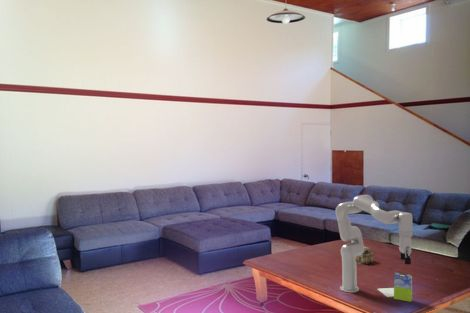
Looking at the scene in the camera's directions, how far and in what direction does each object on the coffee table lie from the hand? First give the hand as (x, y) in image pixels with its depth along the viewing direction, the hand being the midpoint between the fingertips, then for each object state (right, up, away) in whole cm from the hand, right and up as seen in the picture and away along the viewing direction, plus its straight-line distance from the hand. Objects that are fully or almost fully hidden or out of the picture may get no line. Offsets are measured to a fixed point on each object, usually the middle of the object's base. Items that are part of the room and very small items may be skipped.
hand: (405, 261), depth 235 cm
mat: (+4, -28, +28) cm, 40 cm away
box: (+5, -29, +16) cm, 33 cm away
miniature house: (+6, -27, +98) cm, 101 cm away
